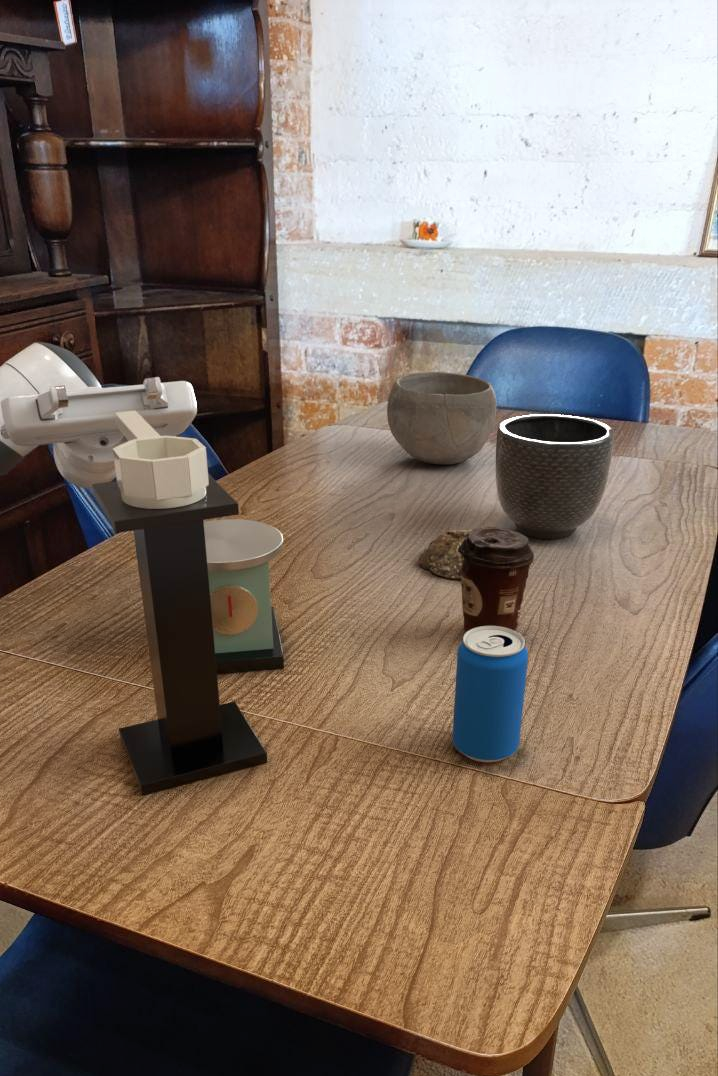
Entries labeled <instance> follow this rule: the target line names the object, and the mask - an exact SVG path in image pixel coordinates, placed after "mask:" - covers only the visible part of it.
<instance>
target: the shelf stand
mask: <svg viewBox="0 0 718 1076" xmlns="http://www.w3.org/2000/svg"><path fill="white" fill-rule="evenodd" d="M208 480H209V485H208V486H206V489H207V494H206V496H205V497H204V498H203V499H201V500H199V501H198V502H195V503H192V504H189V505H186V506H181V507H176V508H167V509H146V508H138V507H134V506H130V505H128V504H126V503H124V502H123V501H122V499H121V492H120V489H119V487H118V485H117V480H114V481H113V480H112V481H111V482H105V483H97V484H92V487H93V489H92V494H93V496H94V498H95V500H96V502H97V503H98V505H99V506H100V509H101V510H102V512H103V513H104V515H105V517H106V518H107V520H108V521H109V523H110V526H111V527H112V528H113V530H114V532H115V533H116V534H119V533H125V532H126V533H127V532H133V537H134V538H133V539H134V546H135V554H136V560H137V561H136V562H137V568H138V576H139V583H140V591H141V599H142V607H143V615H144V622H145V631H146V639H147V646H148V654H149V662H150V669H151V677H152V685H153V693H154V700H155V708H156V716H157V719H153V720H148V721H145V722H140V723H137V724H136V723H135V724H132V725H128V726H127V725H126V726H123V727H119V728H118V733H119V739H120V742H121V745H122V747H123V749H124V752H125V755H126V758H127V760H128V762H129V765H130V768H131V770H132V773H133V776H134V778H135V781H136V783H137V787H138V789H139V791H140V794H141V796H145V795H150V794H154V793H157V792H162V791H165V790H170V789H172V788H176V787H180V786H183V785H187V784H193V783H195V782H199V781H203V780H207V779H211V778H214V777H219V776H222V775H226V774H229V773H234V772H237V771H241V770H245V769H249V768H252V767H256V766H261V765H264V764H267V763H268V753H267V751H266V749H265V748H264V745H263V743H262V742H261V741H260V739H259V738H258V736H257V735H256V733H255V732H254V730H253V728H252V726H251V725H250V723H249V722H248V720H247V718H246V717H245V715H244V714H243V713H242V710H241V709H240V707H239V706H238V704H237V703H236V701H231V702H226V703H223V704H222V703H221V704H220V693H219V692H220V691H219V679H218V674H217V668H216V657H215V646H214V634H213V623H212V612H211V600H210V589H209V577H208V566H207V555H206V543H205V532H204V522H205V521H206V520H211V519H212V520H214V519H218V518H226V517H233V516H238V515H240V510H239V502H238V501H236V499H235V498H234V497H233V496H231V495H230V494H229V493H228V492H227V490H226V489H225V488H223V487H222V485H221V484H220V483H219V482H218V481H216V480H215V478H213V476H212V475H211V474H209V473H208ZM204 520H205V521H204Z"/></svg>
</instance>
